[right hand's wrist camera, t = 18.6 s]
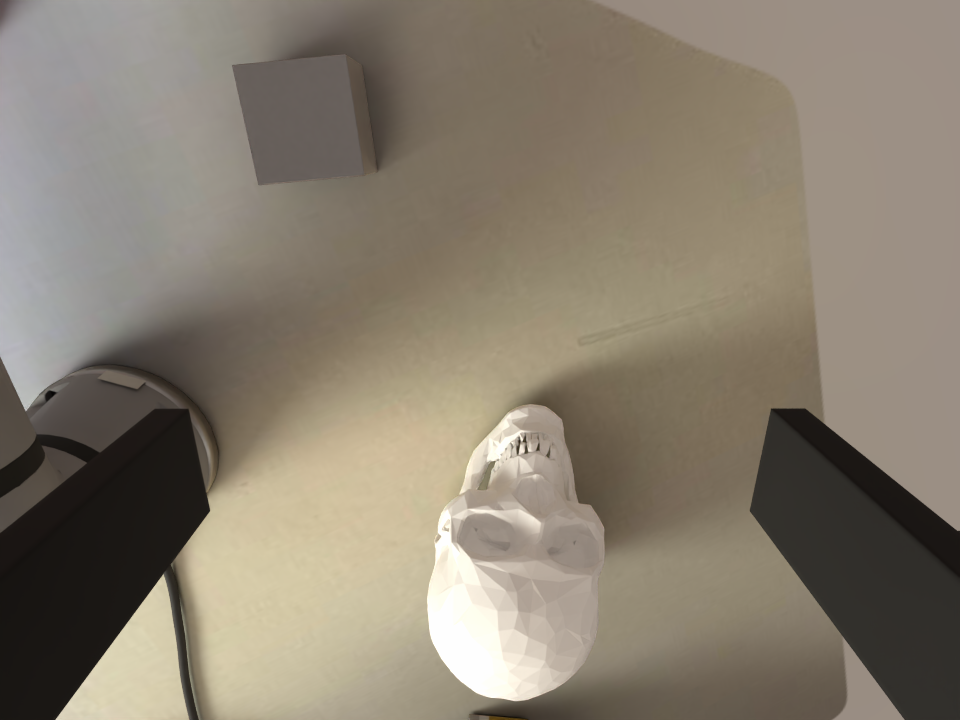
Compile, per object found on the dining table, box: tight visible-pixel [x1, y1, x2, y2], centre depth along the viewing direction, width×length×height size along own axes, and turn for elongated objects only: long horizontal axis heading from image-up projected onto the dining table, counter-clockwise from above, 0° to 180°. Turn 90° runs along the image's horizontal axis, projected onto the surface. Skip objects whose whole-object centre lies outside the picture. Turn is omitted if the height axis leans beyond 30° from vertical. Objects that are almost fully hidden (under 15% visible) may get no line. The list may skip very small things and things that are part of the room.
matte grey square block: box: [232, 54, 378, 185], centre depth 37 cm, size 7×7×5 cm
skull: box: [427, 404, 605, 701], centre depth 43 cm, size 13×22×16 cm, turn 175°
